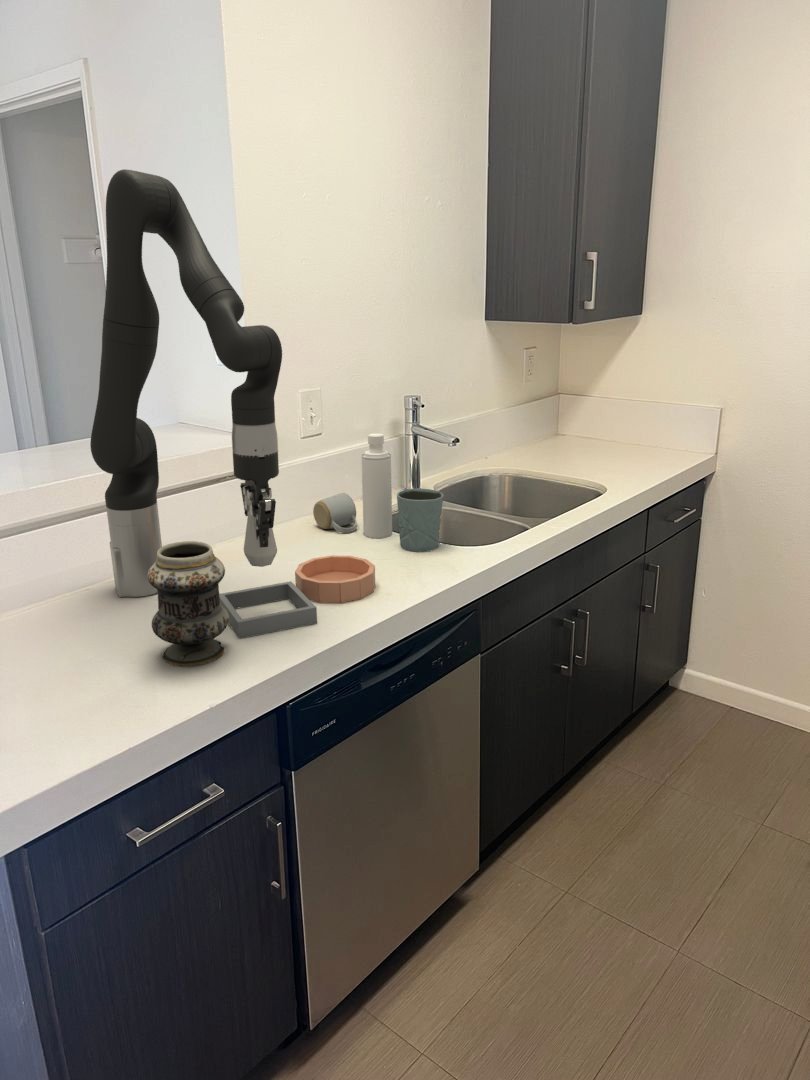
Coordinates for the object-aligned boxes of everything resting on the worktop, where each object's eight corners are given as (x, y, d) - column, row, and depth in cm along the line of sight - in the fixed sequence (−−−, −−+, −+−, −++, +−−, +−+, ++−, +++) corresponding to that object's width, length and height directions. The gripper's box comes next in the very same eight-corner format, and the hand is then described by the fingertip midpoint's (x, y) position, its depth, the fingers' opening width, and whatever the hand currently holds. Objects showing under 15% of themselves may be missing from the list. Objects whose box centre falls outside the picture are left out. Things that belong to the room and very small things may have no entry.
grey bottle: (369, 528, 196) (367, 424, 188) (396, 531, 194) (394, 425, 186) (359, 536, 191) (356, 429, 183) (386, 539, 188) (384, 431, 180)
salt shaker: (270, 569, 142) (267, 496, 137) (239, 567, 143) (234, 494, 138) (282, 558, 147) (279, 488, 143) (252, 555, 148) (248, 485, 144)
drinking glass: (388, 544, 185) (387, 493, 181) (423, 535, 191) (423, 485, 187) (416, 556, 178) (416, 502, 174) (452, 546, 183) (452, 494, 179)
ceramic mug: (311, 526, 198) (310, 495, 196) (338, 519, 204) (338, 489, 201) (337, 537, 191) (337, 505, 188) (365, 530, 196) (365, 499, 193)
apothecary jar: (243, 657, 133) (234, 552, 127) (169, 677, 126) (156, 567, 121) (216, 631, 142) (207, 532, 137) (146, 648, 136) (133, 545, 130)
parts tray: (239, 638, 139) (237, 622, 138) (218, 609, 151) (217, 594, 150) (317, 623, 145) (316, 607, 144) (291, 595, 157) (291, 581, 156)
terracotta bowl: (312, 608, 151) (311, 588, 150) (287, 581, 164) (285, 562, 163) (387, 594, 157) (386, 574, 156) (356, 569, 170) (356, 551, 169)
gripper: (222, 442, 143) (228, 537, 148) (244, 459, 131) (249, 561, 136) (265, 439, 146) (269, 531, 151) (289, 455, 134) (293, 555, 139)
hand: (260, 545), depth 144 cm, fingers closed on salt shaker, 3 cm apart
